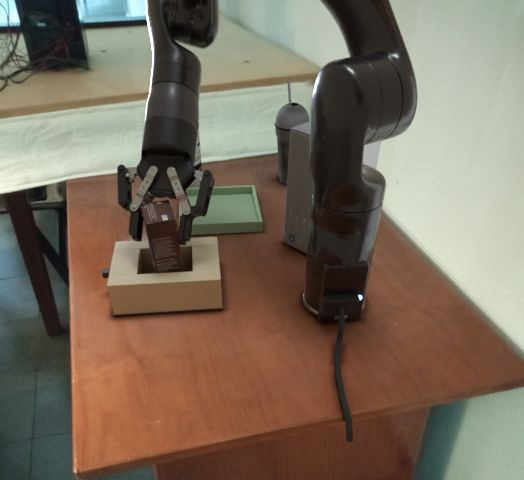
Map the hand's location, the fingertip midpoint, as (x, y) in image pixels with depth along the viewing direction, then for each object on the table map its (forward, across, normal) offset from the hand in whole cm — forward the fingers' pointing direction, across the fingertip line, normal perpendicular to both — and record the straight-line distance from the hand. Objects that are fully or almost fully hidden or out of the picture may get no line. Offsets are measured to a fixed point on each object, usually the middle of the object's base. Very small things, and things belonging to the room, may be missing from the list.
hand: (159, 241), depth 70 cm
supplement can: (-20, -7, +34) cm, 40 cm away
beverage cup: (-25, +15, +38) cm, 48 cm away
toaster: (+6, 0, +8) cm, 10 cm away
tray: (-13, +3, +26) cm, 29 cm away
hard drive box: (-9, +24, +22) cm, 34 cm away
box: (+5, 0, +7) cm, 8 cm away
